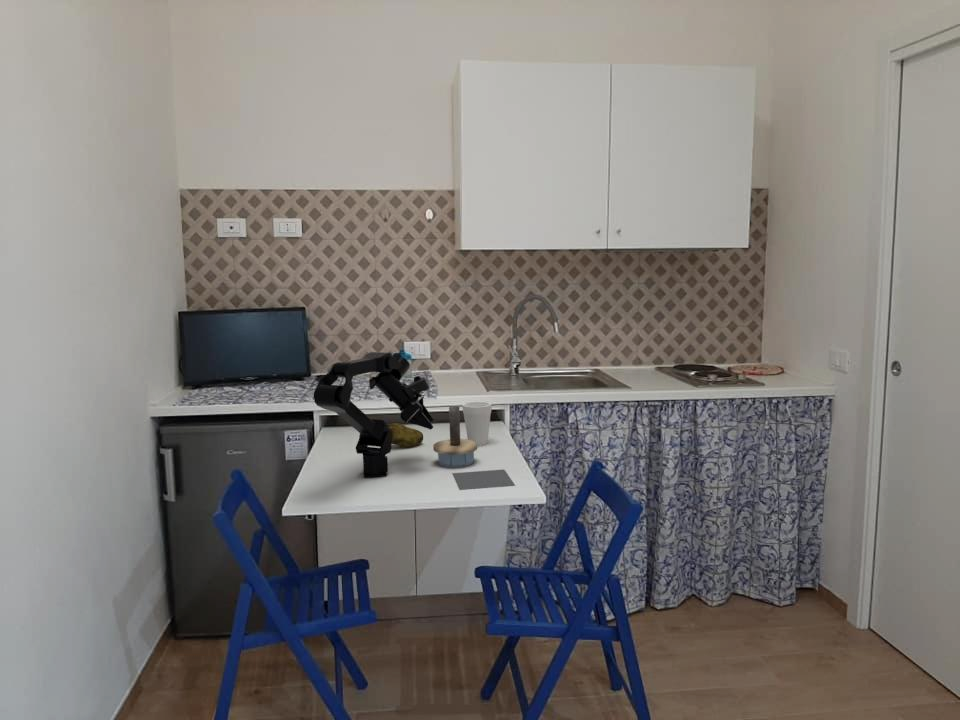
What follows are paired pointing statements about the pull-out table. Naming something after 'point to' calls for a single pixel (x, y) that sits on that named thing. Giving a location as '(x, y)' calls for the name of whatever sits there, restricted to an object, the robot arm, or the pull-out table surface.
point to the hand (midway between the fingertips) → (432, 424)
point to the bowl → (456, 459)
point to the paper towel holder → (455, 437)
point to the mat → (482, 479)
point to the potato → (405, 435)
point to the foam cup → (477, 421)
